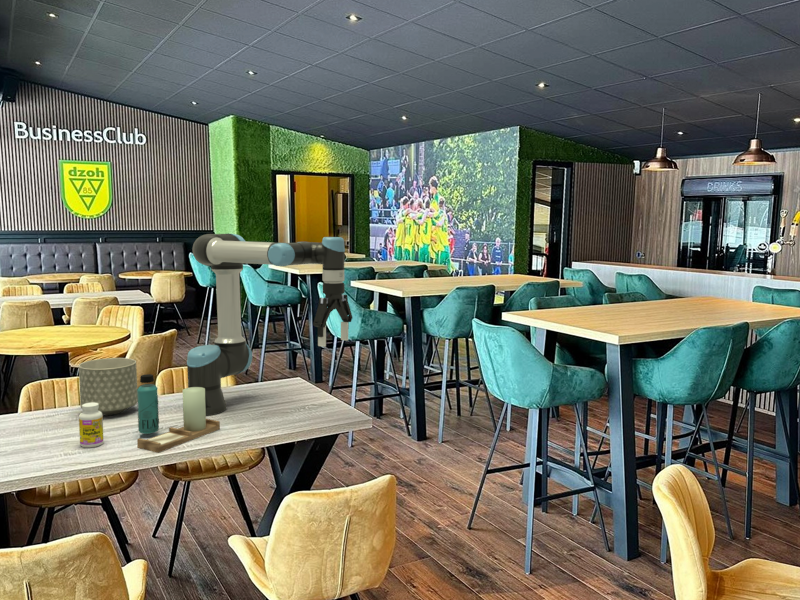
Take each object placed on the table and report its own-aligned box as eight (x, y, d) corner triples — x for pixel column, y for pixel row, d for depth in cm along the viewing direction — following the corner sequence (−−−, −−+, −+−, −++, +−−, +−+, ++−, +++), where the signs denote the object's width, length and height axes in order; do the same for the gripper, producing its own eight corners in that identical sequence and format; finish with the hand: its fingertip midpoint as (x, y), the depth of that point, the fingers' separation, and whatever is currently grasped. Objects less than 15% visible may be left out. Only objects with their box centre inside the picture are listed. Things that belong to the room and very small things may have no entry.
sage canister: (179, 429, 213) (177, 390, 212) (195, 423, 220) (193, 386, 218) (194, 432, 210) (193, 393, 209) (210, 426, 216) (209, 388, 215)
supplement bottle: (79, 449, 198) (77, 408, 197) (80, 442, 204) (78, 402, 203) (103, 446, 201) (101, 406, 200) (103, 440, 207) (102, 400, 206)
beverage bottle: (139, 439, 208) (137, 378, 205) (137, 433, 214) (134, 373, 211) (161, 436, 211) (158, 376, 208) (158, 430, 217) (156, 371, 214)
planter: (139, 403, 249) (137, 356, 247) (136, 417, 231) (134, 367, 229) (84, 407, 243) (82, 359, 241) (77, 422, 225) (74, 370, 223)
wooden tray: (137, 447, 200) (137, 439, 200) (200, 425, 223) (199, 417, 223) (158, 452, 196) (157, 444, 196) (219, 429, 219) (219, 421, 219)
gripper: (321, 285, 211) (321, 350, 213) (362, 280, 232) (362, 338, 235) (302, 284, 214) (302, 347, 217) (344, 279, 236) (344, 336, 239)
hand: (333, 343), depth 226 cm, fingers open, 13 cm apart
